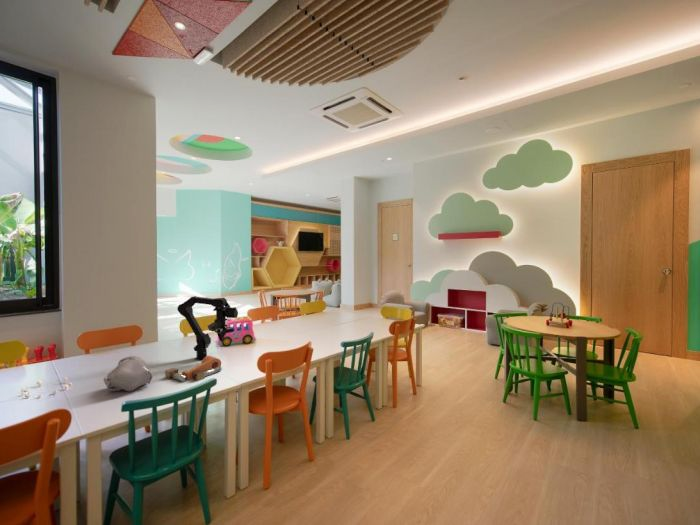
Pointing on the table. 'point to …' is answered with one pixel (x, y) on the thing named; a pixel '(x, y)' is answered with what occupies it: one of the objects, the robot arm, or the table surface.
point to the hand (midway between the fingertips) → (221, 341)
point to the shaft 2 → (204, 373)
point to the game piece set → (40, 385)
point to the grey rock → (128, 375)
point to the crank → (203, 366)
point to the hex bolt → (174, 375)
